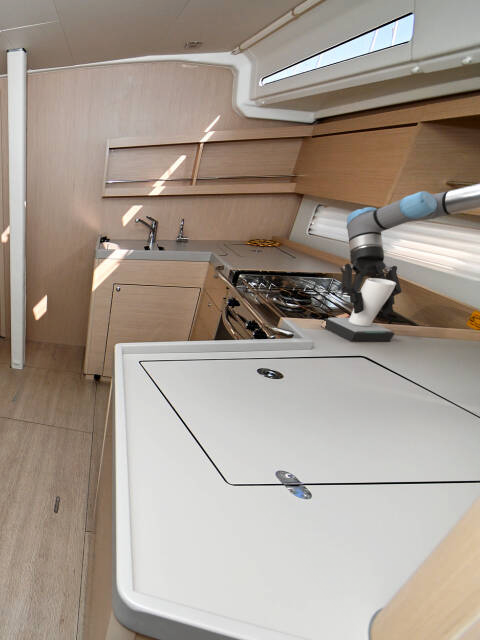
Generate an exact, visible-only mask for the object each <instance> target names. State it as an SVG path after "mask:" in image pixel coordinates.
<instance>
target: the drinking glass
mask: <svg viewBox="0 0 480 640" xmlns="http://www.w3.org/2000/svg"><path fill="white" fill-rule="evenodd" d="M395 285H396V283H395V282H393V281H390V280H385V279H378V278H371V277H369V278H368V277H367V278H366V279H365V281H364V282H363V284H362V286H361V287H360V289H359V292H362V299H363V309H364V311H362V312H359V313H357V314H355V313H354V307H353V308H352V311H351V314H350V316H349V317H348V318H349V320H348V321H349V322H350V323H351V324H354V325H358V326H369V325H371V323H373V321H374V320H375V318H376V317H377V315H378V314H379V312H380V311H381V309H382V307H383V305H384V304H385V302H386V301H387V299H388V298H389V296H390V295H391V293H392V291H393V289H394V287H395Z"/></svg>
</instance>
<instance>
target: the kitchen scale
mask: <svg viewBox="0 0 480 640" xmlns="http://www.w3.org/2000/svg"><path fill="white" fill-rule="evenodd" d="M349 318H350V317H327V318H323V320H324V321H326V326H325V330H327V331H328V332H330V333H332V334H334V335H336V336H339V337H340V338H342V339H344V340H346V341H348V342H350V343H364V342H365V343H390V342H391V340H392V338H393V337H394V336H395V332H393V331H392V330H391V329H389V328H386V327H385V326H382V325H379V324H377V323H375V322H372V323H371V325H369V326H358V325H354V324H351V323H350V322H349V321H348V320H349Z"/></svg>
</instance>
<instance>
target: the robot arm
mask: <svg viewBox="0 0 480 640" xmlns="http://www.w3.org/2000/svg"><path fill="white" fill-rule="evenodd" d="M474 210H480V182H479V183H476V184H472V185H467V186H464V187H463V186H462V187H459V188H456V189H452V190H447V191H442V192H439V193H434V194H432V193H430V192H428V191H424V190H422V191H418V192H416V193H413V194H409V195H407V196H405V197H403V198H401V199H399V200H396V201H394V202H392V203H389V204H387V205H384V206H383V207H380V208H376V207H372V206H370V207H369V206H368V207H363V208H358V209H356V210H353V211H352V212H351V213H349V214H348V215H347V218H346V230H347V237H348V247H349V253H350V254H349V258H350V263H345V264H344V265H342V266H341V267H340V268H339V269H340V271H341V293H342V294H346V296H347V297H349V301H350V303H351V304H352V305H353V308H354V313H355V314H357V313H359V312H362V311H364V309H363V299H362V292H360V289H361V287H362V286H361V285H362V283H363V281H364V278H365V277H367V278H368V277H369V278H378V279H385V280H390V281H393V282H395V283H396V285H395V287H394V289H393V291H392V293H391V295H390V296H389V298H388V299H387V301H386V302H385V304H384V305H383V307H382V308H381V309H382V310H381V311H382V316H384V317H387V316H389V315H392V314H393V313H394V307H393V305H395V303H396V301H395V296H397V295H399V294H401V293H402V292H403V291H402V287H401V284H400V280H399V277H398V274H397V272H398V266H397V265H392V266H389V265H387V264H386V263H385V262H384V260H385V253H384V251H385V250H384V245H383V243H384V242H383V237H382V232H384V231H387V230H390V229H392V228H396V227H399V226H400V225H403V224H406V223H411V222H412V223H413V222H419V221H429V220H434V219H437V218H442V217H446V216H451V215H455V214H460V213H464V212H470V211H474ZM353 271H354V272H355V273H354V276H353ZM352 280H353V281H352Z"/></svg>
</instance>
